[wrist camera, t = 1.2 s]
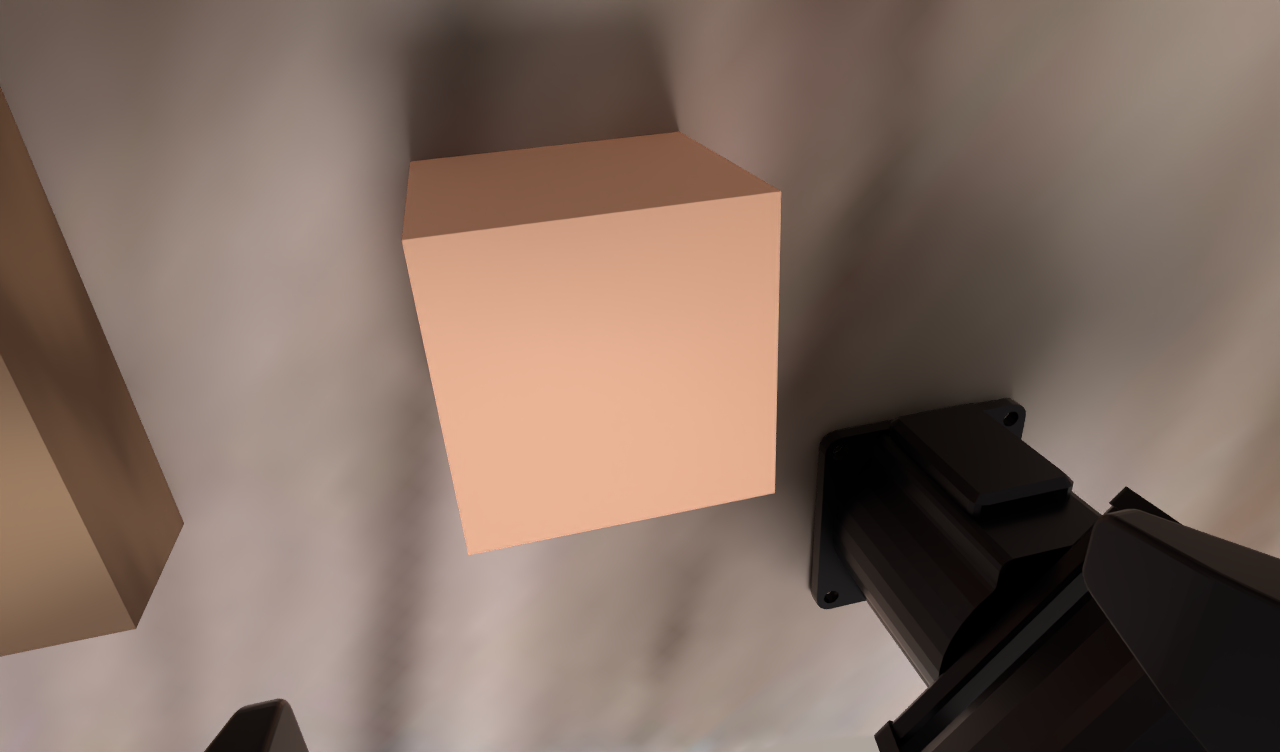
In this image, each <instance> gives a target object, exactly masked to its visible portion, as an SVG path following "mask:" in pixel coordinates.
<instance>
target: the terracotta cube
mask: <svg viewBox="0 0 1280 752" xmlns="http://www.w3.org/2000/svg"><path fill="white" fill-rule="evenodd" d="M780 225H781V191H780V190H778V189H776V188H775V187H773V186H771V185H770V184H768V183H766V182H764V181H763V180H761V179H759V178H758V177H756V176H754V175H752V174H751V173H749V172H747V171H746V170H744V169H742V168H741V167H739V166H737V165H735V164H734V163H732V162H730V161H729V160H727V159H725V158H723V157H722V156H720V155H718V154H717V153H715V152H713V151H712V150H710V149H708V148H706V147H705V146H703V145H701V144H700V143H698V142H696V141H694V140H693V139H691V138H689V137H688V136H686V135H684V134H682V133H681V132H671V133H662V134H653V135H644V136H635V137H626V138H617V139H608V140H599V141H590V142H581V143H572V144H563V145H554V146H545V147H536V148H527V149H518V150H509V151H500V152H491V153H482V154H473V155H464V156H455V157H446V158H437V159H428V160H419V161H410V169H409V178H408V187H407V196H406V205H405V214H404V223H403V232H402V244H403V249H404V254H405V258H406V263H407V268H408V273H409V277H410V282H411V287H412V291H413V296H414V301H415V306H416V310H417V315H418V320H419V324H420V329H421V334H422V338H423V343H424V348H425V353H426V357H427V362H428V367H429V371H430V376H431V381H432V386H433V390H434V395H435V400H436V404H437V409H438V414H439V418H440V423H441V428H442V433H443V437H444V442H445V447H446V451H447V456H448V461H449V466H450V470H451V475H452V480H453V484H454V489H455V494H456V498H457V503H458V508H459V513H460V517H461V522H462V527H463V531H464V536H465V541H466V546H467V550H468V555H472V554H477V553H482V552H487V551H492V550H496V549H501V548H506V547H511V546H516V545H521V544H526V543H531V542H536V541H541V540H546V539H551V538H556V537H561V536H565V535H570V534H575V533H580V532H585V531H590V530H595V529H600V528H605V527H610V526H615V525H620V524H625V523H629V522H634V521H639V520H644V519H649V518H654V517H659V516H664V515H669V514H674V513H679V512H684V511H689V510H693V509H698V508H703V507H708V506H713V505H718V504H723V503H728V502H733V501H738V500H743V499H748V498H753V497H757V496H762V495H767V494H772V493H775V461H776V414H777V366H778V319H779V272H780Z"/></svg>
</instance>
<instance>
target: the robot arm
mask: <svg viewBox="0 0 1280 752" xmlns="http://www.w3.org/2000/svg"><path fill="white" fill-rule="evenodd" d="M1008 413H1009V414H1008ZM1007 414H1008V416H1007V417H1006V418H1005V416H1006V415H1007ZM1025 417H1026V411H1025V409H1024V407H1023V406H1021V405H1020V404H1019V403H1017V402H1016V401H1014V400H1012V399H1011V398H1004V399H999V400H993V401H988V402H983V403H978V404H973V403H969V404H964V405H959V406H954V407H948V408H943V409H938V410H933V411H927V412H922V413H917V414H912V415H906V416H901V417H898V418H896V419H894V420H889V421H883V422H878V423H873V424H868V425H862V426H857V427H852V428H847V429H842V430H836V431H833V432H831V433H829V434H827V435H826V436H825V437H824V438H823V439H822V441H821V442H820V446H819V454H818V474H817V493H816V512H815V532H814V551H813V570H812V590H811V593H812V597H813V598H814V600H815V601H816V603H817V605H818V606H819V607H820V608H823V609H832V608H836V607H840V606H844V605H849V604H853V603H857V602H861V601H867V602H868V604H869V605H870V607H871V608H872V609H873V611H874V612H875V614H876V615H877V617H878V618H879V619H880V621H881V622H882V624H883V625H884V626H885V628H886V629H887V631H888V632H889V633H890V635H891V636H892V638H893V639H894V640H895V642H896V643H897V645H898V646H899V648H900V649H901V650H902V652H903V653H904V655H905V656H906V657H907V659H908V660H909V662H910V663H911V664H912V666H913V667H914V669H915V670H916V672H917V673H918V674H919V676H920V677H921V679H922V680H923V681H924V683H925V684H926V686H927V687H928V688H927V689H926V690H925V691H924V692H923V693H922V694H921V695H920V696H919V697H918V698H917V699H916V700H915V701H914V702H913V703H912V704H911V705H910V706H909V707H908V708H907V709H906V710H905V711H904V712H903V713H902V714H901V715H900V716H899V717H898V718H897V719H896V720H895V721H894V722H893V721H888V722H887V723H886V724H885V725H884V726H883V727H882V728H881V729H880V730H879V731H878V732H877V733H876V734H875V735H874V736H875V740H876V743H877V745H878V748H879V751H880V752H1280V559H1279V558H1276V557H1273V556H1270V555H1267V554H1265V553H1262V552H1259V551H1256V550H1253V549H1250V548H1247V547H1244V546H1242V545H1239V544H1236V543H1233V542H1230V541H1227V540H1224V539H1221V538H1219V537H1216V536H1213V535H1210V534H1207V533H1204V532H1201V531H1198V530H1195V529H1193V528H1190V527H1187V526H1184V525H1182V524H1181V523H1179V522H1178V521H1176V520H1175V519H1173V518H1172V517H1170V516H1169V515H1167V514H1166V513H1164V512H1163V511H1161V510H1160V509H1159V508H1157V507H1156V506H1154V505H1153V504H1151V503H1150V502H1148V501H1147V500H1145V499H1144V498H1142V497H1141V496H1140V495H1138V494H1137V493H1135V492H1134V491H1132V490H1131V489H1129V488H1128V487H1125V488H1124V489H1123V490H1122V491H1121V492H1120V493H1119V494H1118V495H1117V496H1116V497H1115V498H1113V499H1112V500H1111V501H1110V502H1109V503H1110V504H1111V505H1112V506H1111V507H1110V508H1109V509H1108V510H1107V511H1106V512H1105V513H1104V514H1103V515H1101V514H1100V513H1099V512H1097V511H1096V510H1095V509H1093V508H1092V507H1091V506H1090V505H1088V504H1087V503H1086V502H1085V501H1083V500H1082V499H1081V498H1079V497H1078V496H1077V495H1076V494H1074V493H1073V492H1072V487H1073V481H1072V480H1071V478H1069V477H1068V476H1067V475H1066V474H1065V473H1064V472H1063V471H1061V470H1060V469H1059V468H1057V467H1056V466H1055V465H1054V464H1052V463H1051V462H1050V461H1048V460H1047V459H1046V458H1044V457H1043V456H1042V455H1040V454H1039V453H1038V452H1037V451H1035V450H1034V449H1033V448H1031V447H1030V446H1029V445H1027V444H1026V443H1025V442H1024V441H1022V440H1021V438H1022V432H1023V427H1024V422H1025ZM1004 418H1005V419H1004ZM840 445H842V448H841V449H840V450H839V451H837V452H835V453H833V452H834V450H835V449H836V448H837V447H838V446H840ZM830 591H831V592H830ZM828 592H830V593H828ZM827 593H828V594H827ZM204 752H309V751H308V749H307V746H306V743H305V741H304V738H303V736H302V733H301V731H300V728H299V726H298V723H297V720H296V718H295V715H294V713H293V710H292V708H291V706H290V704H289V703H288V702H287V701H286V700H284V699H274V700H270V701H265V702H261V703H256V704H252V705H247V706H244V707H242V708H240V709H239V710H238V711H237V712H236V713H235V714H234V715H233V716H232V717H231V718H230V720H229V721H228V722H227V723H226V725H225V726H224V727H223V728H222V730H221V731H220V732H219V734H218V735H217V736H216V737H215V739H214V740H213V741H212V742H211V744H210V745H209V746H208V748H207V749H206V750H205V751H204Z"/></svg>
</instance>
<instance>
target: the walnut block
mask: <svg viewBox="0 0 1280 752" xmlns="http://www.w3.org/2000/svg"><path fill="white" fill-rule="evenodd" d="M183 525H184V522H183V520H182V517H181V515H180V513H179V510H178V508H177V506H176V503H175V501H174V498H173V496H172V494H171V491H170V489H169V487H168V484H167V482H166V479H165V477H164V475H163V472H162V470H161V468H160V465H159V463H158V460H157V458H156V456H155V453H154V451H153V449H152V446H151V444H150V441H149V439H148V437H147V434H146V432H145V429H144V427H143V425H142V422H141V420H140V418H139V415H138V413H137V410H136V408H135V406H134V403H133V401H132V399H131V396H130V394H129V391H128V389H127V387H126V384H125V382H124V380H123V377H122V375H121V372H120V370H119V368H118V365H117V363H116V361H115V358H114V356H113V353H112V351H111V349H110V346H109V344H108V341H107V339H106V337H105V334H104V332H103V330H102V327H101V325H100V322H99V320H98V318H97V315H96V313H95V311H94V308H93V306H92V303H91V301H90V299H89V296H88V294H87V292H86V289H85V287H84V284H83V282H82V280H81V277H80V275H79V273H78V270H77V268H76V265H75V263H74V261H73V258H72V256H71V253H70V251H69V249H68V246H67V244H66V242H65V239H64V237H63V234H62V232H61V230H60V227H59V225H58V223H57V220H56V218H55V215H54V213H53V211H52V208H51V206H50V204H49V201H48V199H47V196H46V194H45V192H44V189H43V187H42V185H41V182H40V180H39V177H38V175H37V173H36V170H35V168H34V165H33V163H32V161H31V158H30V156H29V154H28V151H27V149H26V146H25V144H24V142H23V139H22V137H21V135H20V132H19V130H18V127H17V125H16V123H15V120H14V118H13V116H12V113H11V111H10V108H9V106H8V104H7V101H6V99H5V97H4V94H3V92H2V89H1V87H0V656H5V655H10V654H15V653H20V652H24V651H29V650H34V649H39V648H44V647H49V646H54V645H59V644H64V643H68V642H73V641H78V640H83V639H88V638H93V637H98V636H103V635H107V634H112V633H117V632H122V631H127V630H132V629H136V627H137V625H138V623H139V621H140V619H141V616H142V614H143V612H144V610H145V608H146V606H147V603H148V601H149V599H150V597H151V595H152V592H153V590H154V588H155V586H156V584H157V581H158V579H159V577H160V575H161V573H162V571H163V568H164V566H165V564H166V562H167V560H168V557H169V555H170V553H171V551H172V549H173V546H174V544H175V542H176V540H177V538H178V536H179V533H180V531H181V529H182V527H183Z"/></svg>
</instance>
